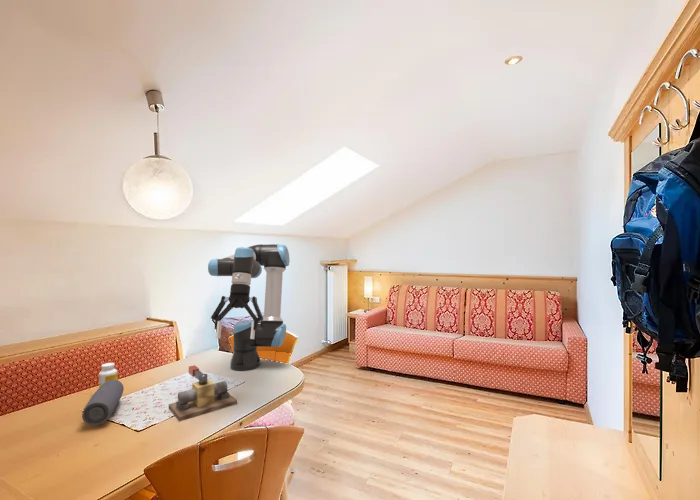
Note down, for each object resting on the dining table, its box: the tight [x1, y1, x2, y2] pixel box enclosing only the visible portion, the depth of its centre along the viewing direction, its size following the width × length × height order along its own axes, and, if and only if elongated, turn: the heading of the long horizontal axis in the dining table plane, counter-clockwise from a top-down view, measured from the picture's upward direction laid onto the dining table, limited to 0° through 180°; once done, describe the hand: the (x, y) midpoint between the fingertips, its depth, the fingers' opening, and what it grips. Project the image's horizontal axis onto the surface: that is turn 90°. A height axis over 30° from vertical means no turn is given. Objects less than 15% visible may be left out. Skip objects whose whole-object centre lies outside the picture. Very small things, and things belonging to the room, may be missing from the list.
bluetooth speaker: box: [81, 379, 125, 427], centre depth 140 cm, size 23×9×10 cm, turn 21°
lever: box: [188, 364, 208, 384], centre depth 152 cm, size 16×3×3 cm, turn 41°
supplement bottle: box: [98, 362, 118, 388], centre depth 158 cm, size 7×7×13 cm
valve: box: [168, 378, 238, 422], centre depth 147 cm, size 22×14×9 cm, turn 131°
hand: (235, 338), depth 143 cm, fingers open, 13 cm apart
